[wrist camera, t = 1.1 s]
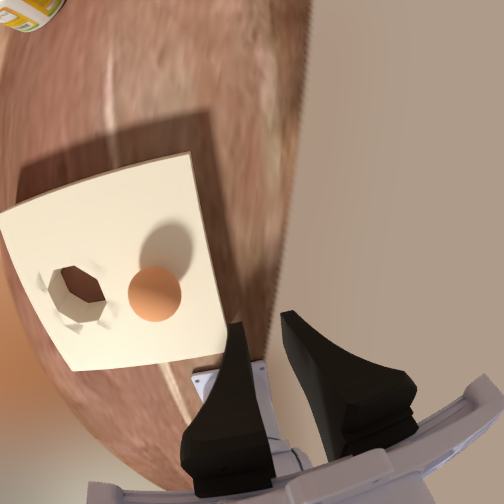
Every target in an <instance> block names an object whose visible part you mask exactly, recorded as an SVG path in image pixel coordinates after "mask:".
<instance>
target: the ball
mask: <svg viewBox="0 0 504 504" xmlns="http://www.w3.org/2000/svg"><path fill="white" fill-rule="evenodd" d="M181 297H182V294H181V287H180V284H179V282H178V280H177V279H176V277H175V276H174V275H173V274H172V273H171V272H169V271H167V270H166V269H163V268H160V267H148V268H145V269H142V270H141V271H139V272H138V273H136V275H135V276H134V277H133V278H132V280H131V282H130V284H129V287H128V300H129V304H130V306H131V308H132V309H133V311H134V312H135V313H136V314H137V315H138V316H139V317H141V318H142V319H144V320H147V321H150V322H160V321H164V320H166V319H168V318H170V317H171V316H173V315H174V314H175V312H176V311H177V310H178V308H179V306H180V303H181Z"/></svg>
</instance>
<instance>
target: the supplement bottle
mask: <svg viewBox="0 0 504 504" xmlns="http://www.w3.org/2000/svg"><path fill="white" fill-rule="evenodd" d="M64 1H65V0H0V23H1V24H4V25H6V26H9V27H11V28H14V29H16V30H18V31H21V32H31V31H34V30H36V29H38V28H40V27H42V26H43V25H45V24H46V23H47V22H48V21H50V20H51V19H52V18H53V17H54V16H55V14H56V13H57V12H58V11H59V9H60V8H61V6H62V5H63V3H64Z"/></svg>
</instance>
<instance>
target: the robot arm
mask: <svg viewBox="0 0 504 504" xmlns="http://www.w3.org/2000/svg"><path fill="white" fill-rule="evenodd" d="M280 316H281V326H282V337H283V345H284V348H285V350H286V354H287V356H288V359H289V362H290V364H291V366H292V368H293V370H294V372H295V374H296V376H297V379H298V380H299V383H300V385H301V387H302V389H303V391H304V393H305V395H306V397H307V399H308V402H309V405H310V407H311V410H312V413H313V416H314V418H315V422H316V424H317V427H318V430H319V433H320V437H321V440H322V443H323V446H324V449H325V452H326V455H327V459H328V462H329V463H326V464H323V465H320V466H317V467H314V468H313V466H312V463H311V461H310V459H309V457H308V456H307V454H305V453H304V452H303V451H301V450H300V449H299V448H296V447H295V448H291V447H290V444H289V441H288V440H283V439H282V436H281V433H280V429H279V426H278V423H277V420H276V417H275V413H274V410H273V405H272V398H271V392H270V385H269V379H268V372H267V366H266V362H265V361H264V360H260V361H255V362H251V361H250V356H249V351H248V346H247V341H246V336H245V331H244V328H243V324H242V322H238V323H233V324H229V325H228V326H227V340H226V346H225V351H224V355H223V359H222V362H221V366H220V369H216V370H210V371H204V372H198V373H193V374H192V375H191V378H192V381H193V383H194V385H195V387H196V390H197V392H198V394H199V396H200V398H201V400H202V402H203V406H202V407H201V409H200V411H199V412H198V414H197V415H196V417H195V418H194V420H193V421H192V422H191V424H190V425H189V426H188V427H187V429H186V430H185V431H184V433H183V436H182V441H181V448H180V460H181V467H182V468H183V469H184V470H185V471H186V472H187V473H188V474H189V475H190V476H191V477H192V478H193V484H194V490H184V491H134V490H122V489H121V488H120V487H119V486H117V485H114V484H111V483H103V482H94V481H89V482H88V491H87V504H436V503H435V501H434V499H433V497H432V495H431V493H430V491H429V490H428V488H427V486H426V484H425V482H424V481H423V478H425V477H426V476H428V475H430V474H431V473H432V472H434V471H435V470H437V469H438V468H440V467H441V466H443V465H444V464H446V463H447V462H448V461H450V460H451V459H452V458H454V457H455V456H456V455H458V454H459V453H460V452H461V451H463V450H464V449H465V448H466V447H468V446H469V445H470V444H472V443H473V442H474V441H475V440H476V439H478V437H480V436H481V435H482V434H484V433H485V432H486V431H487V430H488V429H489V428H490V427H491V426H492V425H493V423H494V422H495V421H496V420H497V419H498V418H499V416H500V415H501V414H502V413H503V412H504V395H503V394H502V393H501V392H500V391H499V389H498V388H497V387H496V386H495V385H494V384H493V382H492V381H491V380H490V379H489V378H488V377H487V376H486V374H482V375H481V376H480V377H479V378H477V379H476V380H475V381H473V382H472V383H471V384H470V385H469V386H468V387H467V388H466V390H465V391H464V393H463V395H462V396H460V397H459V398H458V399H456V400H455V401H453V402H452V403H450V404H449V405H447V406H445V407H444V408H442V409H441V410H439V411H438V412H436V413H434V414H433V415H431V416H429V417H428V418H426V419H424V420H422V421H421V422H419V423H416V421H415V420H414V418H413V417H412V415H413V411H412V409H411V408H410V405H411V403H412V401H413V400H414V398H415V395H416V392H417V386H416V385H415V384H414V382H413V381H412V380H411V378H410V377H409V376H408V375H407V374H406V373H405V372H404V371H401V370H397V369H392V368H388V367H384V366H381V365H378V364H375V363H372V362H369V361H367V360H364V359H362V358H360V357H357V356H355V355H353V354H351V353H349V352H347V351H345V350H344V349H342V348H340V347H339V346H337V345H335V344H334V343H332V342H331V341H330V340H328V339H327V338H325V337H324V336H323V335H321V334H320V333H319V332H317V331H316V330H315V329H314V328H312V327H311V326H310V325H309V324H308V323H307V322H305V321H304V320H303V319H302V318H301V317H300V316H299V315H298V314H297V313H296V312H295V311H293V310H291V311H287V312H282V313H280ZM261 367H262V368H261Z"/></svg>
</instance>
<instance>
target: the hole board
mask: <svg viewBox="0 0 504 504" xmlns="http://www.w3.org/2000/svg"><path fill="white" fill-rule="evenodd" d="M0 229H1V232H2V235H3V238H4V241H5V243H6V246H7V249H8V251H9V254H10V257H11V259H12V262H13V264H14V267H15V269H16V271H17V274H18V276H19V278H20V280H21V283H22V285H23V287H24V289H25V291H26V293H27V295H28V297H29V299H30V301H31V303H32V305H33V307H34V309H35V311H36V313H37V315H38V317H39V318H40V320H41V322H42V324H43V326H44V327H45V329H46V331H47V332H48V334H49V336H50V337H51V339H52V341H53V342H54V344H55V346H56V347H57V349H58V350H59V352H60V353H61V355H62V357H63V358H64V360H65V361H66V363H67V364H68V365H69V367H70V368H71V370H72V371H86V370H100V369H112V368H122V367H132V366H140V365H148V364H156V363H163V362H170V361H177V360H184V359H190V358H196V357H202V356H207V355H213V354H218V353H223V352H224V351H225V346H226V340H227V324H226V320H225V316H224V311H223V307H222V303H221V299H220V294H219V290H218V286H217V281H216V277H215V272H214V268H213V263H212V259H211V254H210V249H209V245H208V240H207V235H206V230H205V225H204V221H203V216H202V211H201V205H200V200H199V195H198V190H197V185H196V179H195V174H194V168H193V163H192V157H191V151H187V152H183V153H178V154H173V155H169V156H164V157H160V158H156V159H152V160H147V161H143V162H140V163H136V164H132V165H128V166H124V167H121V168H117V169H114V170H110V171H107V172H104V173H100V174H97V175H94V176H91V177H87V178H84V179H81V180H78V181H75V182H72V183H69V184H66V185H64V186H61V187H58V188H55V189H53V190H50V191H47V192H45V193H42V194H39V195H37V196H34V197H32V198H29V199H27V200H24V201H22V202H20V203H17V204H15V205H13V206H11V207H10V208H8V209H6V210H5V211H3V212H1V213H0ZM73 265H75V266H76V267H78V268H79V269H81V270H83V271H84V272H86V273H88V274H89V275H91V276H92V277H94V278H96V279H97V280H98V282H99V285H100V287H101V289H102V292H103V294H104V297H105V299H106V300H103V301H98V302H92V303H87V302H85V301H84V300H82V299H80V298H79V297H77V296H75V295H74V294H72V293H70V292H69V290H68V288H67V286H66V283H65V281H64V279H63V276H62V274H61V269H62V268H65V267H69V266H73ZM148 267H160V268H163V269H166V270H167V271H169V272H171V273H172V274H173V275H174V276H175V277H176V279H177V280H178V282H179V284H180V287H181V294H182V297H181V303H180V306H179V308H178V310H177V311H176V312H175V314H174V315H173V316H171V317H170V318H168V319H166V320H164V321H160V322H150V321H147V320H144V319H142V318H141V317H139V316H138V315H137V314H136V313H135V312H134V311H133V309H132V308H131V306H130V304H129V300H128V287H129V284H130V282H131V280H132V278H133V277H134V276H135V275H136V273H138V272H139V271H141V270H142V269H145V268H148Z"/></svg>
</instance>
